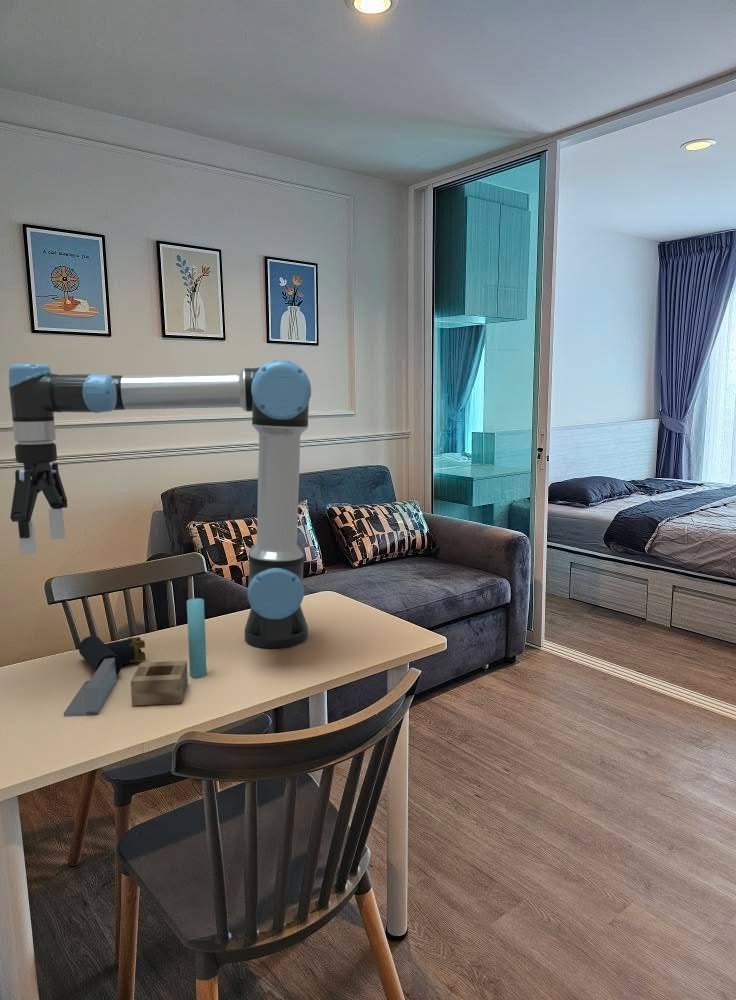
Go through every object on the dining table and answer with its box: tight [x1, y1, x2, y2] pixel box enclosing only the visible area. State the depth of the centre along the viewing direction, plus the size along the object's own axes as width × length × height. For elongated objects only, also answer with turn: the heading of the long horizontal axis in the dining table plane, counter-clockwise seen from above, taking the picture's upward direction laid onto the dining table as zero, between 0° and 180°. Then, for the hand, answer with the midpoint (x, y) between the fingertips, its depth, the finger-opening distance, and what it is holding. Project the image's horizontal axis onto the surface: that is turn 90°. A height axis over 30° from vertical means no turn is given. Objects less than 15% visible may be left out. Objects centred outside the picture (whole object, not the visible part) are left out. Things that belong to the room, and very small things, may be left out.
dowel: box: [186, 597, 208, 679], centre depth 141 cm, size 3×3×16 cm
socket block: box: [130, 660, 189, 707], centre depth 132 cm, size 9×9×5 cm
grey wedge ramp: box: [63, 658, 118, 717], centre depth 131 cm, size 6×14×5 cm, turn 7°
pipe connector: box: [78, 635, 147, 677], centre depth 146 cm, size 12×5×15 cm
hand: (43, 546), depth 140 cm, fingers open, 13 cm apart
